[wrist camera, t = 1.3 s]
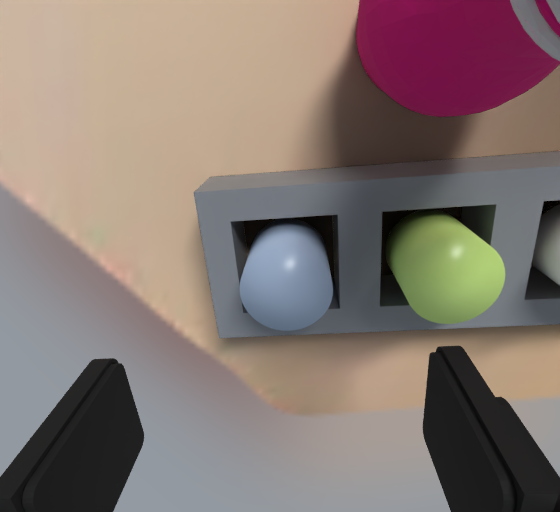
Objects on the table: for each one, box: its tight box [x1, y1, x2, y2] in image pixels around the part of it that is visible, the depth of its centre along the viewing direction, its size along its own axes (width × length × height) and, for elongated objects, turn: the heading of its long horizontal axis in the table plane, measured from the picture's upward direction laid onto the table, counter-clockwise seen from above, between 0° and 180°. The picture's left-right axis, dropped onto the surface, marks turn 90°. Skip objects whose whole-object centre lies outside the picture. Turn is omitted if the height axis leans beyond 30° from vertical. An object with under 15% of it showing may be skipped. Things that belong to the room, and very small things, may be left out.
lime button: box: [385, 209, 505, 324], centre depth 17 cm, size 4×4×4 cm
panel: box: [194, 151, 560, 338], centre depth 19 cm, size 22×8×4 cm, turn 95°
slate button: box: [239, 219, 333, 331], centre depth 18 cm, size 4×4×4 cm
